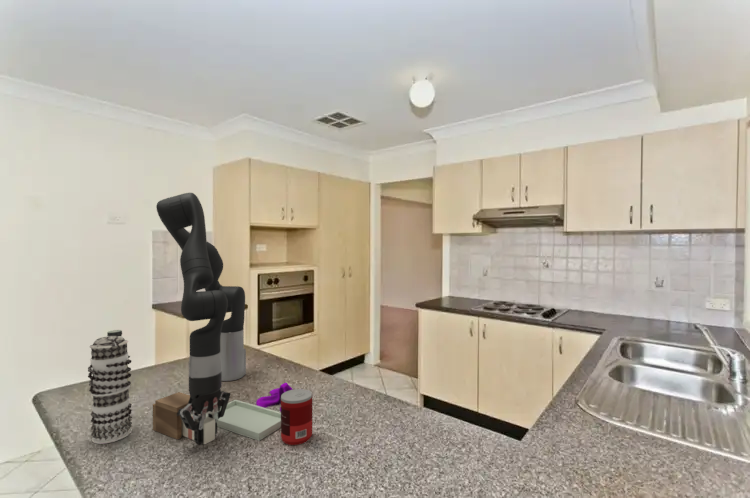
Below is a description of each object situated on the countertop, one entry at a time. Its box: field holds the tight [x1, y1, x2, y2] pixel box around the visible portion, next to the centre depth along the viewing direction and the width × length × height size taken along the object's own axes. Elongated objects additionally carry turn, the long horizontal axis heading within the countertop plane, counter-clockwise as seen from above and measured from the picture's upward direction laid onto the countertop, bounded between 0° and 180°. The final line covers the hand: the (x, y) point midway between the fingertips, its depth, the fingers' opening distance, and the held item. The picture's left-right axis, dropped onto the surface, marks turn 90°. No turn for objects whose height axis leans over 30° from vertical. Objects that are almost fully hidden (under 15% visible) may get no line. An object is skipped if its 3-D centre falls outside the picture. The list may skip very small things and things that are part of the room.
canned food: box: [280, 388, 313, 446], centre depth 97 cm, size 8×8×11 cm
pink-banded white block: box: [181, 411, 216, 445], centre depth 98 cm, size 3×14×5 cm, turn 61°
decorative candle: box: [87, 335, 133, 445], centre depth 97 cm, size 9×9×25 cm
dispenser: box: [152, 391, 193, 440], centre depth 101 cm, size 7×10×8 cm, turn 61°
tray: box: [206, 399, 281, 442], centre depth 105 cm, size 12×22×2 cm, turn 61°
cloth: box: [255, 382, 294, 412], centre depth 120 cm, size 22×19×6 cm
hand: (205, 439), depth 95 cm, fingers closed on pink-banded white block, 3 cm apart
